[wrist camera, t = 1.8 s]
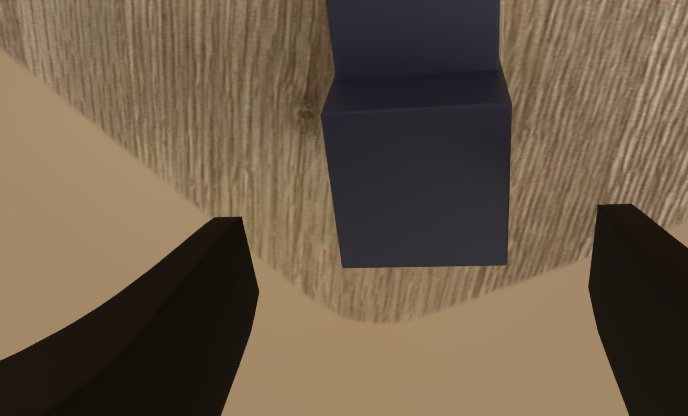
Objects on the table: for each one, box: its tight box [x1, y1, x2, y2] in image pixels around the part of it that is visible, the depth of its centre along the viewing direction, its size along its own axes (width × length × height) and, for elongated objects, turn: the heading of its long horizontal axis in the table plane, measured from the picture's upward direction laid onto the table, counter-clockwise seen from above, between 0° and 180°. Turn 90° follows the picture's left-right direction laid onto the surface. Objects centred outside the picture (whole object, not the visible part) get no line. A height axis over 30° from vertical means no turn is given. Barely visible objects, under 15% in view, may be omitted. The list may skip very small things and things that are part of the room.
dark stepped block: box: [321, 0, 512, 268], centre depth 16 cm, size 8×4×5 cm, turn 6°
